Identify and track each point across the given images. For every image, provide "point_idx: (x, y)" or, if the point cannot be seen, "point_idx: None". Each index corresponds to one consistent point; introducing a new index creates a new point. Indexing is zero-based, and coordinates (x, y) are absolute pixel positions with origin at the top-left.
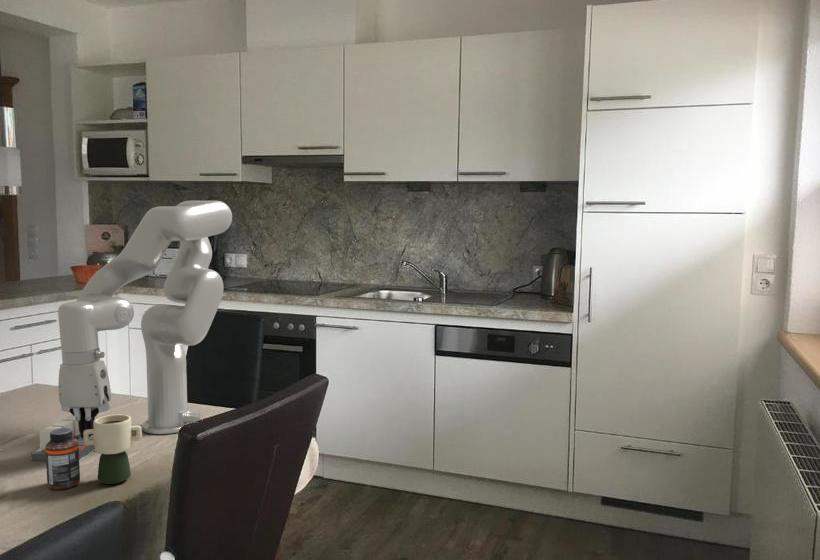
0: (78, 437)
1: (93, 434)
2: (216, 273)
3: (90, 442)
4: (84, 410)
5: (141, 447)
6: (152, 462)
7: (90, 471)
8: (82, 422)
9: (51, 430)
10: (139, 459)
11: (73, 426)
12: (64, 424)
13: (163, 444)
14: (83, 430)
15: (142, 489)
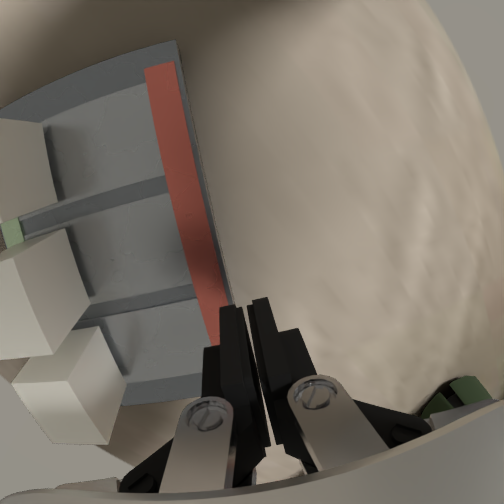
0: (68, 190)
1: (107, 116)
2: None
3: None
4: (233, 465)
5: (410, 138)
6: (495, 271)
7: (363, 399)
8: (269, 444)
9: (82, 430)
10: (460, 264)
11: (18, 216)
12: (35, 336)
13: (459, 92)
14: (262, 400)
15: (498, 395)
